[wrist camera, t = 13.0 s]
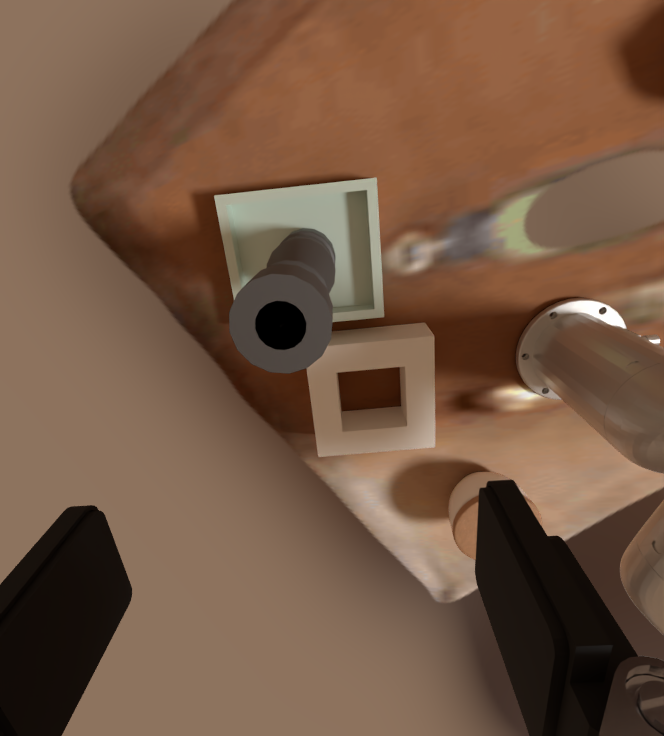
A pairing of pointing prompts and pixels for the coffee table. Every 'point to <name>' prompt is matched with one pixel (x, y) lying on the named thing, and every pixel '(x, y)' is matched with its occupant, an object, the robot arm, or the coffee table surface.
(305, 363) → the candle holder
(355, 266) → the parts tray
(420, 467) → the coffee table surface
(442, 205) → the coffee table surface
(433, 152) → the coffee table surface
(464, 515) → the lidded jar
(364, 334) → the socket block
